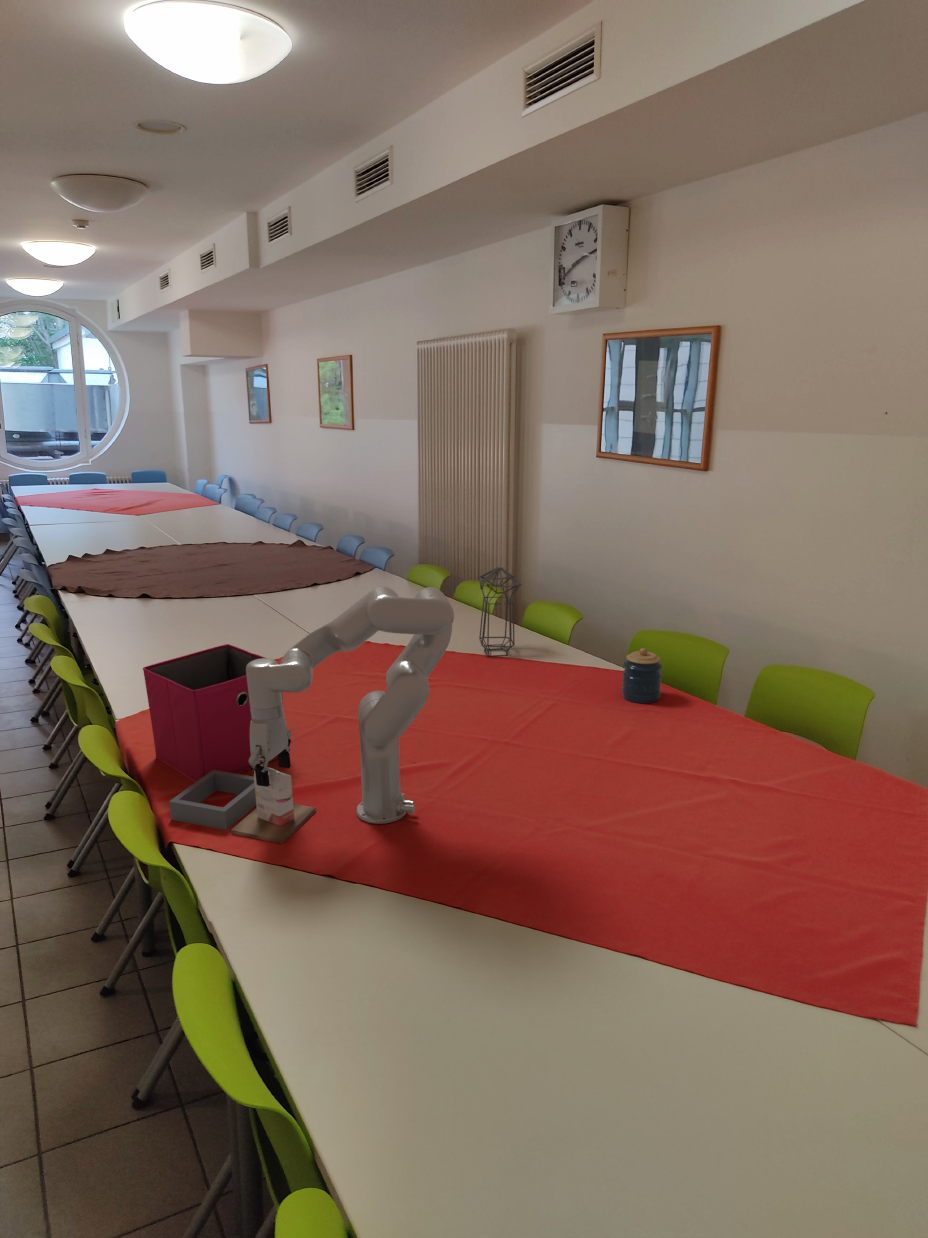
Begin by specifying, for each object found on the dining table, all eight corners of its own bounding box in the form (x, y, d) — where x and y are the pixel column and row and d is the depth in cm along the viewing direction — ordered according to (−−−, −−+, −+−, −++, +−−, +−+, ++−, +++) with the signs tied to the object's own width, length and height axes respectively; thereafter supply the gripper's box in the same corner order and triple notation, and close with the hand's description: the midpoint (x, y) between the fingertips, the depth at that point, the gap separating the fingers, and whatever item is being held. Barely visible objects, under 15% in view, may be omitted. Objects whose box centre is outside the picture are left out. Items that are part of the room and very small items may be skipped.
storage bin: (203, 790, 218) (193, 690, 210) (151, 759, 236) (139, 665, 228) (290, 756, 237) (284, 663, 230) (235, 729, 256) (228, 642, 248)
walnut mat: (315, 811, 207) (315, 807, 207) (282, 843, 192) (282, 840, 192) (267, 802, 211) (267, 799, 211) (231, 833, 197) (230, 830, 196)
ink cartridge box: (295, 819, 201) (291, 764, 197) (280, 827, 197) (276, 772, 193) (271, 809, 206) (267, 755, 202) (256, 817, 202) (251, 762, 198)
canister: (657, 690, 287) (660, 642, 282) (662, 704, 274) (666, 654, 270) (619, 689, 288) (622, 641, 283) (623, 703, 276) (625, 653, 271)
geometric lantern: (474, 647, 334) (476, 563, 325) (512, 647, 336) (516, 563, 327) (479, 659, 319) (482, 571, 310) (519, 659, 321) (523, 571, 312)
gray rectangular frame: (266, 796, 214) (265, 778, 213) (226, 830, 198) (224, 811, 197) (214, 787, 219) (212, 770, 218) (171, 819, 203) (169, 801, 202)
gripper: (272, 696, 203) (279, 759, 207) (232, 723, 187) (240, 791, 192) (299, 698, 200) (305, 762, 205) (260, 726, 185) (268, 795, 189)
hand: (274, 776), depth 198 cm, fingers open, 9 cm apart
